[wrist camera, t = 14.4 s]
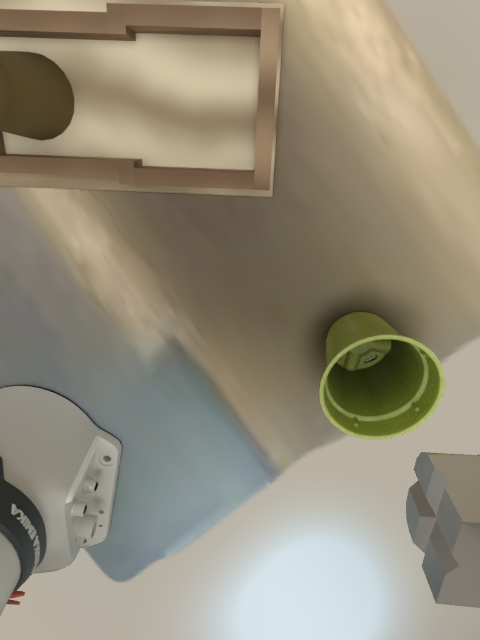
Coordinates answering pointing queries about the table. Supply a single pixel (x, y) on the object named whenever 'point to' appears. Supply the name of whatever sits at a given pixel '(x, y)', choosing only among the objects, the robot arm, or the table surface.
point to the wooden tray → (152, 95)
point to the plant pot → (378, 379)
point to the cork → (34, 96)
